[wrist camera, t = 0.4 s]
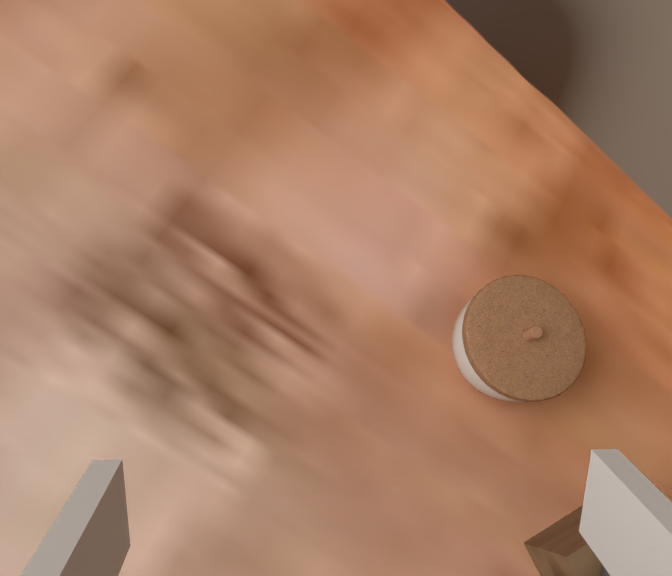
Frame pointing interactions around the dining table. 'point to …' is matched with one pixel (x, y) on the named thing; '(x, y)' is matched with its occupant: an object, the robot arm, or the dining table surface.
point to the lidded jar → (519, 340)
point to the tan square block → (563, 549)
